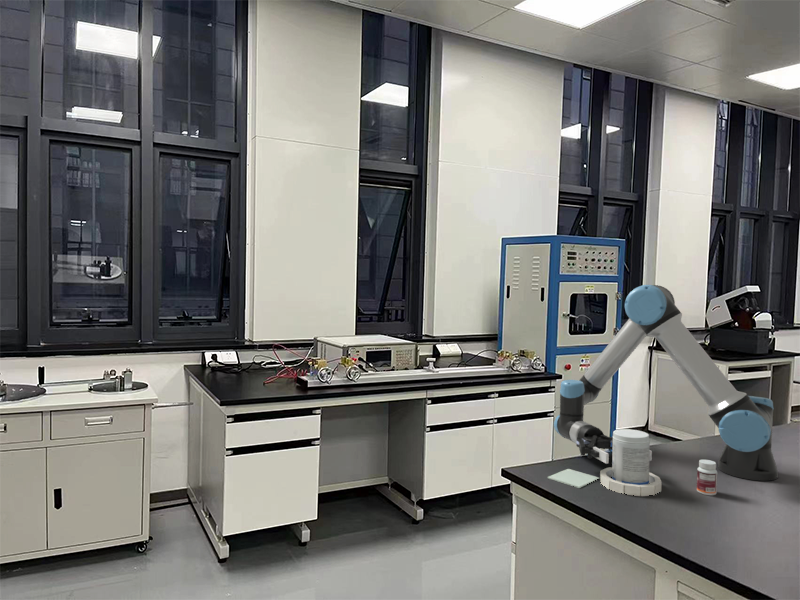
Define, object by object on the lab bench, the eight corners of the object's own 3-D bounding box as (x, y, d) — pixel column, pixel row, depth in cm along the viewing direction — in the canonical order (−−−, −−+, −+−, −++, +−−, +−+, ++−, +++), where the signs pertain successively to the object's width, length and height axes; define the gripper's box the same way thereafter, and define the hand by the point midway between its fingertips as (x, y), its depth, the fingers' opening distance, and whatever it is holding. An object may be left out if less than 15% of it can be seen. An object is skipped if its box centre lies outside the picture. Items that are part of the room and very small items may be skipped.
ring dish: (670, 486, 156) (670, 477, 156) (645, 500, 146) (645, 491, 146) (616, 471, 168) (616, 463, 168) (589, 484, 157) (590, 475, 157)
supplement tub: (656, 487, 155) (657, 434, 155) (635, 494, 150) (636, 439, 149) (624, 477, 163) (626, 426, 163) (604, 483, 158) (605, 431, 158)
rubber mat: (599, 479, 161) (599, 477, 161) (579, 488, 154) (579, 486, 154) (568, 470, 169) (568, 468, 169) (547, 478, 161) (547, 476, 161)
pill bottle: (699, 487, 156) (701, 457, 155) (718, 492, 152) (720, 462, 152) (693, 492, 152) (695, 461, 152) (713, 497, 149) (714, 465, 149)
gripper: (622, 445, 180) (667, 467, 159) (550, 450, 174) (588, 473, 154) (622, 422, 180) (668, 441, 159) (551, 426, 174) (589, 446, 153)
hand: (629, 457), depth 156 cm, fingers open, 13 cm apart
